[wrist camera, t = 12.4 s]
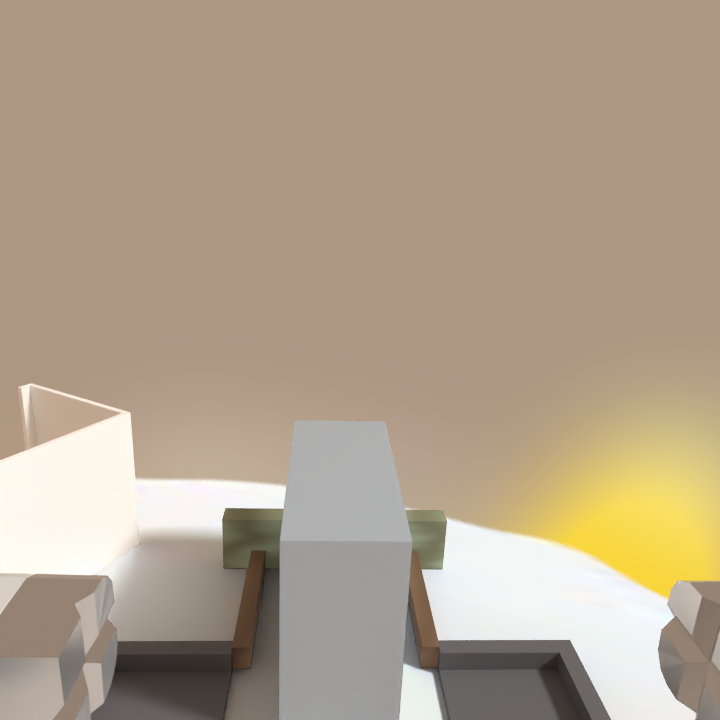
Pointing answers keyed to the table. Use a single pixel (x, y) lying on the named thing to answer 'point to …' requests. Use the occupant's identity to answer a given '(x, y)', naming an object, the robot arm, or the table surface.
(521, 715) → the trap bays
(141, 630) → the table surface
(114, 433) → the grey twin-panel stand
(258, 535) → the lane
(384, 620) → the slate block
